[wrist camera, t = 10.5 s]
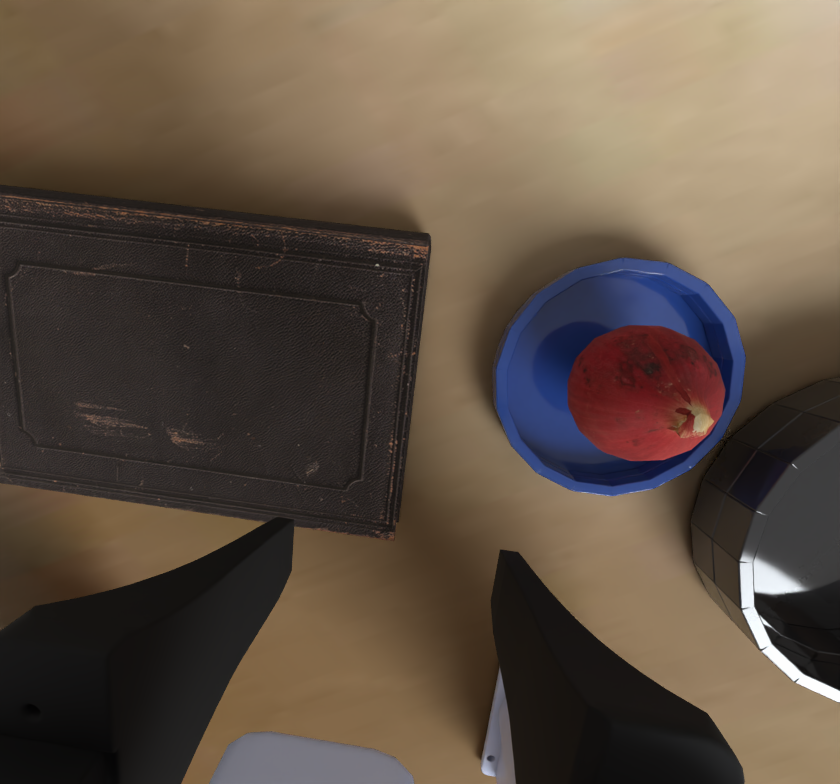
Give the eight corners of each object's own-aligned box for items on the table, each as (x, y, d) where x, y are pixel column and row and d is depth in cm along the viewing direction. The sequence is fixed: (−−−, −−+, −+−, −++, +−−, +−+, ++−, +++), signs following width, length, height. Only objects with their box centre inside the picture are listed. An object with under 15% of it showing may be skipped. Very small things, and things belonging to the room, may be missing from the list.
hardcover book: (398, 519, 23) (393, 542, 21) (35, 466, 24) (-7, 482, 22) (432, 239, 20) (430, 230, 18) (9, 191, 21) (-44, 176, 19)
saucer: (687, 494, 22) (708, 510, 20) (475, 465, 22) (478, 478, 20) (749, 278, 19) (779, 274, 18) (509, 250, 20) (515, 244, 18)
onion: (531, 351, 20) (584, 375, 13) (639, 303, 20) (767, 298, 12) (571, 447, 21) (644, 525, 14) (676, 405, 20) (817, 462, 13)
